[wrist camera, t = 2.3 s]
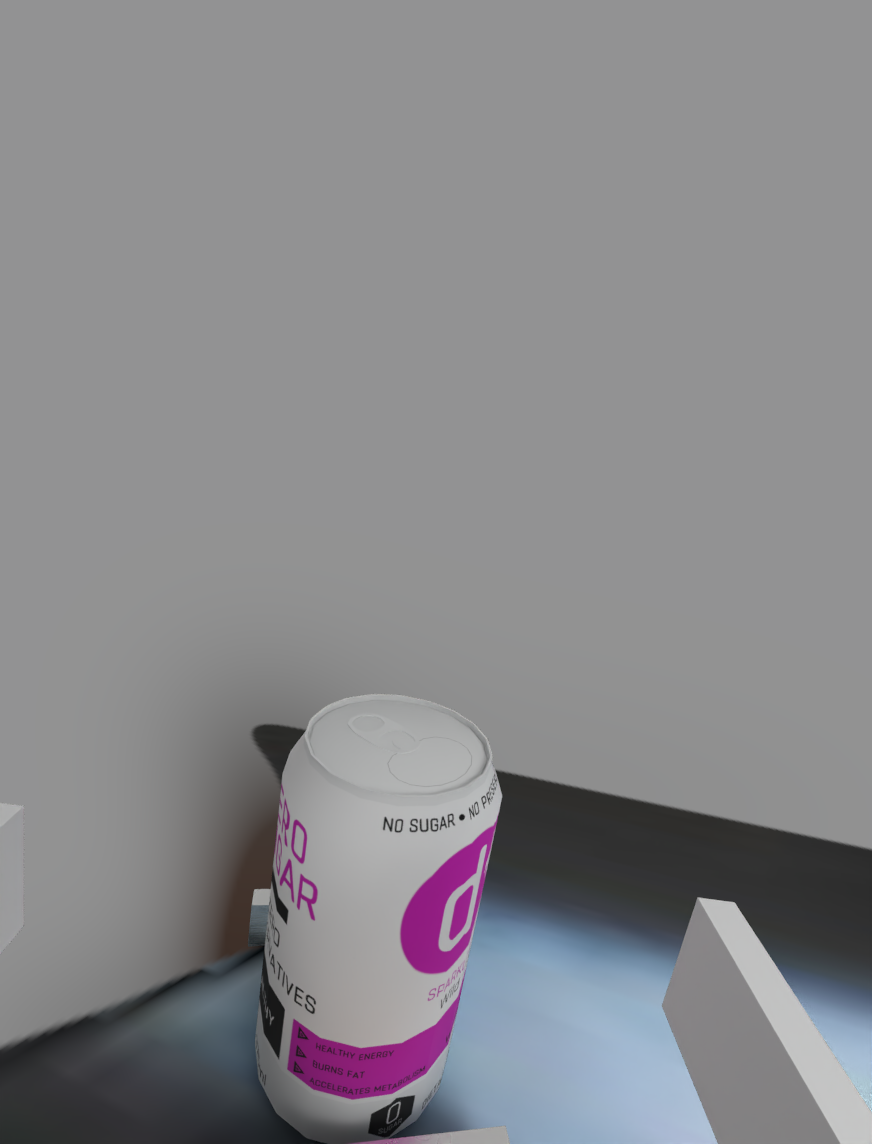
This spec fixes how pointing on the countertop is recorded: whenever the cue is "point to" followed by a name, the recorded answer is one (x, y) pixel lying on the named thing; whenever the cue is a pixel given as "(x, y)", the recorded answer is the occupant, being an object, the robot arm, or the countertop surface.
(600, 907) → the countertop surface
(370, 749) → the sparkling water can
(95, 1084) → the countertop surface
